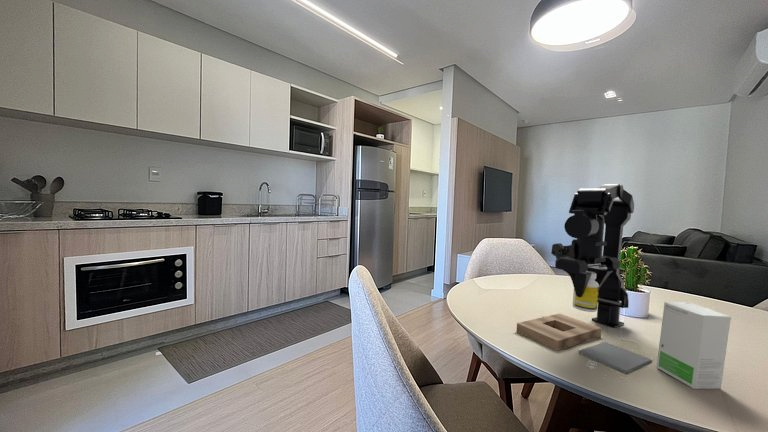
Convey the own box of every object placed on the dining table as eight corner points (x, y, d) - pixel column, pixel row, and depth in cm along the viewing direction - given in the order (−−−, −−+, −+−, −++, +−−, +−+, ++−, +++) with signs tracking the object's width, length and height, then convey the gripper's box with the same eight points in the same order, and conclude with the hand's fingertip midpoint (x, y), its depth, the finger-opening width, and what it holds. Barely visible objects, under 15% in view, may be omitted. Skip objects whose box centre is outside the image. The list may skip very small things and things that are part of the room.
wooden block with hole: (559, 321, 96) (559, 313, 96) (600, 336, 85) (601, 328, 85) (516, 331, 87) (517, 323, 86) (557, 350, 76) (557, 340, 76)
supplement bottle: (601, 313, 76) (603, 275, 76) (577, 311, 78) (579, 273, 77) (591, 306, 82) (594, 270, 81) (569, 304, 83) (571, 269, 82)
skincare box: (655, 367, 69) (660, 300, 69) (681, 367, 70) (687, 301, 69) (696, 390, 61) (702, 314, 60) (725, 390, 62) (732, 314, 61)
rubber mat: (604, 343, 81) (605, 341, 81) (651, 361, 72) (651, 359, 72) (578, 352, 75) (579, 350, 75) (626, 373, 66) (626, 370, 66)
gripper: (579, 233, 90) (576, 284, 91) (538, 233, 82) (534, 290, 83) (622, 237, 80) (618, 295, 81) (580, 238, 72) (575, 303, 73)
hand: (585, 295), depth 79 cm, fingers closed on supplement bottle, 5 cm apart
